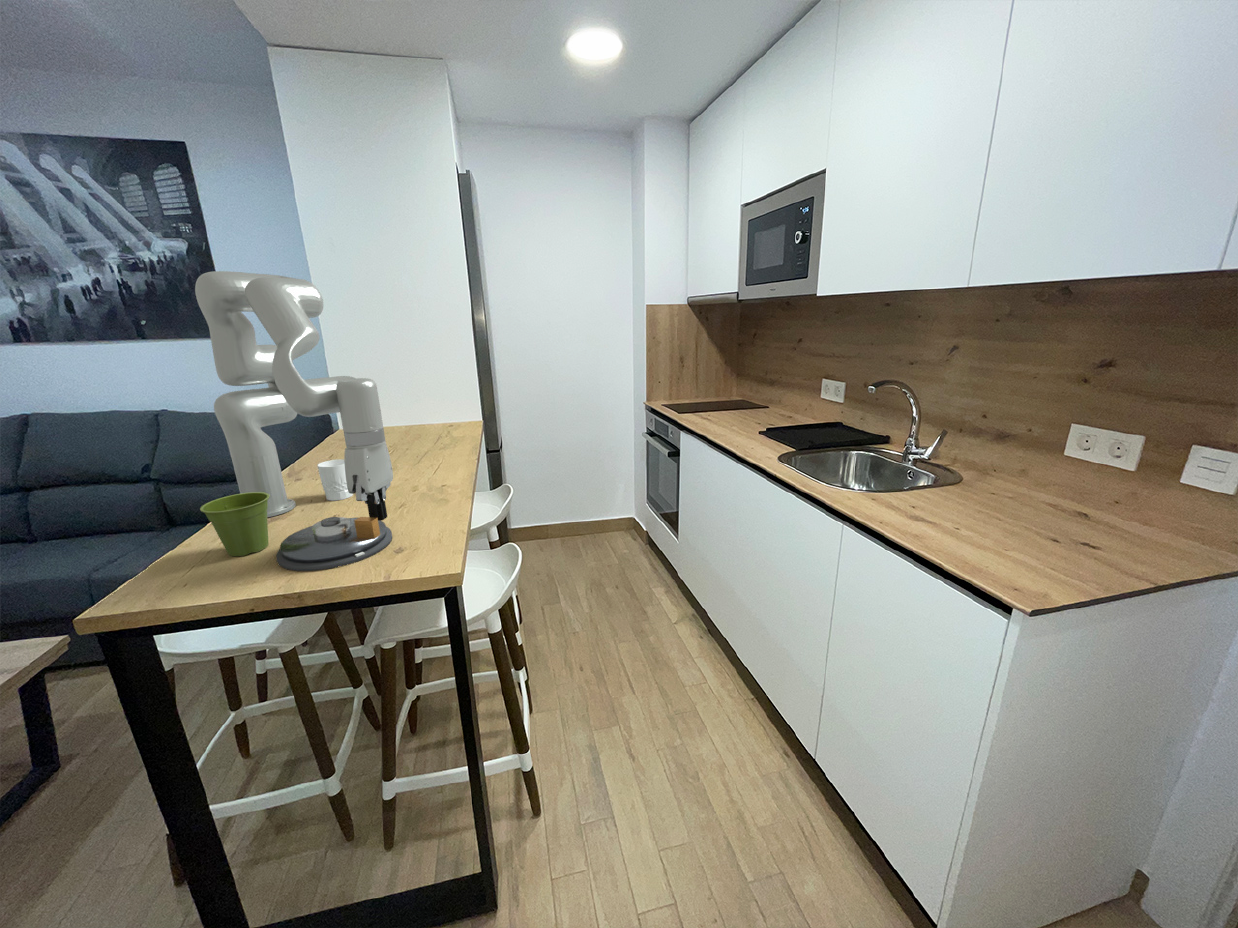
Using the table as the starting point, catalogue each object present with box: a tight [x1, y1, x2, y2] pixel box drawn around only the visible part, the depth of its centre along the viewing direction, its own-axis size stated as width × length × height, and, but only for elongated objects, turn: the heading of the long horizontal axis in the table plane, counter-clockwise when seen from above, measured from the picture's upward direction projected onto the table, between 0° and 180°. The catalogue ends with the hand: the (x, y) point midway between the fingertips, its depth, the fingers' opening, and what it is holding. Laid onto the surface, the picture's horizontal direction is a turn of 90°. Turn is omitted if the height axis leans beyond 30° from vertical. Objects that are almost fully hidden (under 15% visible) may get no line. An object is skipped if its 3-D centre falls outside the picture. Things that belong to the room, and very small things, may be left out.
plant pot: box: [199, 492, 270, 557], centre depth 105 cm, size 12×12×11 cm
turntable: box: [279, 516, 387, 563], centre depth 106 cm, size 20×20×6 cm
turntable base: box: [275, 526, 393, 572], centre depth 107 cm, size 22×22×1 cm
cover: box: [311, 516, 352, 543], centre depth 105 cm, size 7×7×4 cm
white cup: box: [316, 458, 354, 502], centre depth 138 cm, size 8×8×10 cm
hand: (378, 518), depth 109 cm, fingers closed
